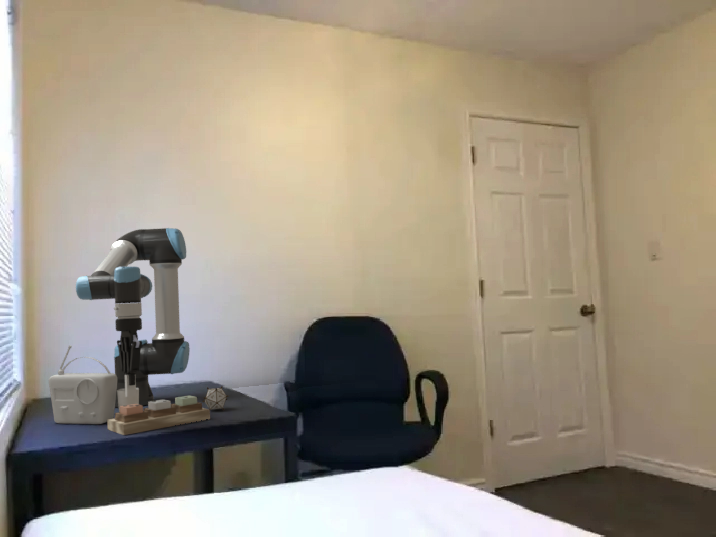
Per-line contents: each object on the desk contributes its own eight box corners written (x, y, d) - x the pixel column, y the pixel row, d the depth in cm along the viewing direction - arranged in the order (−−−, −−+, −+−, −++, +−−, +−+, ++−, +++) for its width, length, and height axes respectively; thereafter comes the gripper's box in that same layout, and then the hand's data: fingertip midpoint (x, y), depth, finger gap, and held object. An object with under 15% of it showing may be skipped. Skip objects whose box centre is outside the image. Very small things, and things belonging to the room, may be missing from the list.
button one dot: (175, 405, 209) (175, 397, 209) (189, 403, 213) (189, 395, 213) (182, 407, 206) (182, 398, 206) (197, 404, 209) (196, 396, 209)
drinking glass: (115, 420, 211) (114, 389, 212) (136, 417, 215) (135, 387, 216) (121, 423, 206) (120, 391, 206) (142, 420, 210) (141, 389, 210)
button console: (107, 429, 198) (107, 412, 198) (191, 414, 217) (191, 399, 217) (123, 435, 189) (123, 417, 189) (210, 419, 208) (209, 403, 208)
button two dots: (148, 409, 203) (148, 401, 203) (163, 407, 207) (163, 399, 207) (155, 411, 200) (155, 403, 200) (170, 409, 203) (170, 400, 203)
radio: (45, 424, 210) (43, 346, 210) (63, 419, 218) (61, 344, 218) (103, 426, 204) (101, 345, 205) (120, 420, 212) (117, 343, 213)
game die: (219, 422, 221) (220, 401, 216) (197, 413, 223) (197, 392, 218) (232, 404, 229) (233, 384, 223) (210, 396, 230) (211, 375, 225)
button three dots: (120, 414, 197) (119, 405, 197) (136, 411, 201) (135, 403, 201) (126, 416, 194) (126, 407, 194) (143, 413, 197) (142, 405, 197)
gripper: (107, 318, 200) (109, 395, 199) (125, 318, 191) (127, 399, 190) (131, 316, 205) (133, 392, 204) (149, 316, 196) (152, 396, 195)
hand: (130, 395), depth 197 cm, fingers closed
